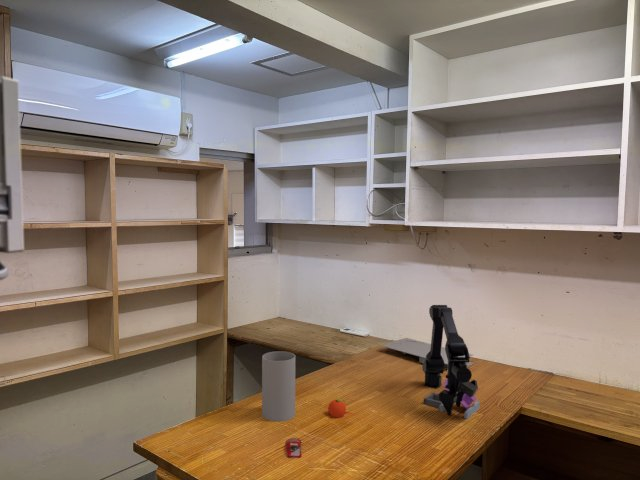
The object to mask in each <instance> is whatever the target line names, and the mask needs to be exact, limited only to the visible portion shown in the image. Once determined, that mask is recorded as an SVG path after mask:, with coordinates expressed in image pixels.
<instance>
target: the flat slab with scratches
mask: <svg viewBox="0 0 640 480" xmlns="http://www.w3.org/2000/svg"><path fill="white" fill-rule="evenodd" d="M379 346H381V347H384V348H387V349H392V350H395V351H399V352H401V353H402V354H404V355H408V354H409V355H413V356H416V357H418V362H419V363H422V364H423V363H424V361H425V360H426V355H427V354H428V353H429V352H430V349H431V343H427V342H424V341H421V340H416V339H412V338H409V337H405V338H401V339H396V340H394V341H390V342H385V343H382V344H379ZM441 356H442V358H443V360H444V363H445V366H444V371H445V370H446V369H447V370H448V359H447V355H446V351H445V346H441ZM469 356H470V357H472V356H474V354H473V353H469ZM458 357H465V355H464V356H458ZM465 364H466V365H467V367H470V366H472V364H473V365H474V364H475V363H474V362H471V361H469V362H465ZM469 365H470V366H469ZM447 370H446V371H447Z"/></svg>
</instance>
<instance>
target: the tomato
mask: <svg viewBox="0 0 640 480" xmlns="http://www.w3.org/2000/svg"><path fill="white" fill-rule="evenodd" d="M345 403H346V402H345V400H344V399H341V398H339V399H334V400H331V401H330V403H329V404H328V406H327V411H328V415H330V417H332V418H337V419H339V418H342V417H344V415H345V414H346V412H347V411H346V410H347V407H346V404H345Z"/></svg>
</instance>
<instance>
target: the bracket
mask: <svg viewBox="0 0 640 480" xmlns="http://www.w3.org/2000/svg"><path fill="white" fill-rule="evenodd" d="M446 385H447V378H445V380H444V381H443V387H444V390H448V391H450V390H449V389H447V388H445V386H446ZM476 401H478V398H477V397H476V396H475V395H473V397H469V396H468V395H467V394H464V395H463V398H462V401H461V402H460V403H461V405H460V406H462V407H464V408H465V410H467V409H469V408H470V407H471V404H472V403H473V402H474V403H475V402H476Z"/></svg>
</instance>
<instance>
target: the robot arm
mask: <svg viewBox="0 0 640 480" xmlns="http://www.w3.org/2000/svg"><path fill="white" fill-rule="evenodd" d="M428 309H429V310H428V311H429V313H428V314H429V317H430V318H431V320H432V329H431V330H432V331H431V340H430V344H431V349H430V352H429V353H428V354H427V355H426V360H425V361H424V363H422V368H421V369H422V372H424V374H425V375H424V383H423V386H425V387H430V388H433V389H437V388H439V387H440V386H442V385H443V383H442V374H444V371H445V370H444V366H445V363H444V360H443V358H442V356H441V347H443V345H442V344H443V335H445V337H446V341H445V345H444V347H445V351H446V355H447V359H448V371H447V374H445V379H447V385H446V386H445V388H447V389H449V390H450V391H448V390H446V389H445V388H444V389H443V390H441V391H440V392H439V393H437V394H438V399H439V400H440V402H442V404H443V406H444V408H445V410H444V411H445V412H446V414H447V416H450V417H451V416H452V411H453V407H454V404H455V405H456V408H461V406H462V405H461V403H460V402H461V401H462V398H463V395H464V394H467V395H468V396H469V397H473V395H474V396H475V395H476V392H477V391H478V389H479V386H478V382H477V380H476V379H472V376H473V375H472V371H471V369H469V368H468V366H467V365H466V364H465V362H470V358H471V356H469V354H470V353H469V349H468V347H467V346H468V345H466V343H465V340H464V339H463V337H461V335H459V332H458V329H457V327H456V323H455V319H454V316H453V309H452V307H449V306H448V305H447V304H432V305H431V306H430V307H429V308H428ZM464 355H465V357H458V356H464ZM471 379H472V380H471Z"/></svg>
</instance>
